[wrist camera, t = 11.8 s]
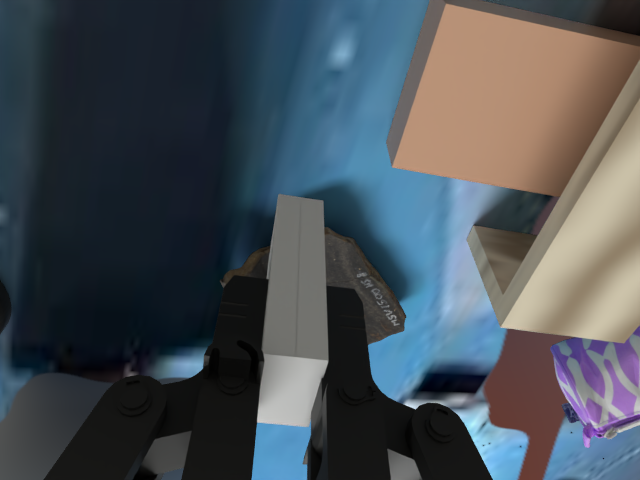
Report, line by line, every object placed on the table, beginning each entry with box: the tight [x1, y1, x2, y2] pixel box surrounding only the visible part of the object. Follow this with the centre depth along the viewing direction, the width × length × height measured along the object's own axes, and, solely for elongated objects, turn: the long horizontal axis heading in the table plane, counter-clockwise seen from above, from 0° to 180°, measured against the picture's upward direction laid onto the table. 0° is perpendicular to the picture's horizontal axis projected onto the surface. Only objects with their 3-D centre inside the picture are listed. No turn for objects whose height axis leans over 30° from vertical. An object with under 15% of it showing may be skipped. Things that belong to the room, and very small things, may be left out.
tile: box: [386, 0, 640, 197], centre depth 31 cm, size 14×10×4 cm
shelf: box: [467, 60, 640, 343], centre depth 29 cm, size 9×24×10 cm, turn 170°
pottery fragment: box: [220, 227, 406, 345], centre depth 41 cm, size 15×12×4 cm
